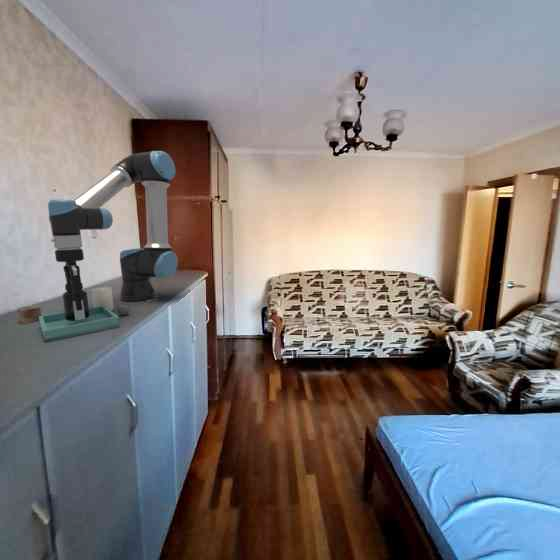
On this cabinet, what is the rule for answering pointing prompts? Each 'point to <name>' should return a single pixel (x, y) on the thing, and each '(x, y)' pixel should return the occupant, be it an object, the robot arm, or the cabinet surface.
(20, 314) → the walnut block
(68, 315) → the supplement bottle
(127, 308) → the grey egg
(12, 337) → the cabinet surface
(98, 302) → the cream round piece
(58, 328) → the tray
